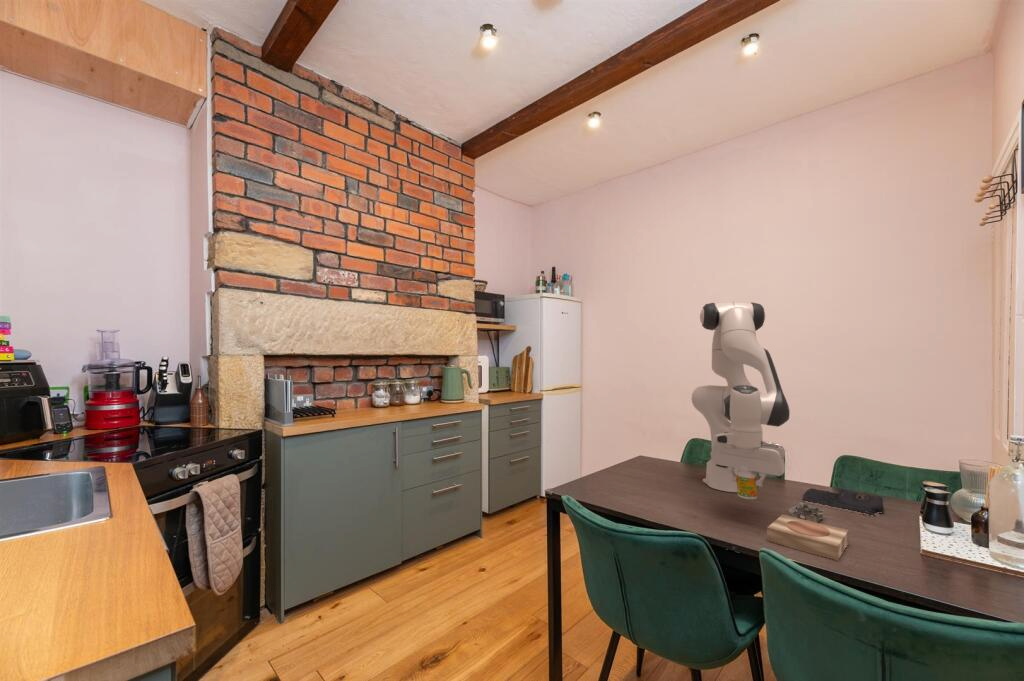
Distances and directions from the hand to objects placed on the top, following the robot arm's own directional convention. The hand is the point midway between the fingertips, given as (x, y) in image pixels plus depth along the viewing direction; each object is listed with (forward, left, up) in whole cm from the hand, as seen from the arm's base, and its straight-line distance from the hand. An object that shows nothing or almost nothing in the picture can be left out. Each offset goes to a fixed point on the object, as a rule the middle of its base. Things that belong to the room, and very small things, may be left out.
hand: (746, 483), depth 134 cm
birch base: (+3, +16, -12) cm, 20 cm away
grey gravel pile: (-17, +12, -12) cm, 24 cm away
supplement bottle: (0, 0, -4) cm, 4 cm away
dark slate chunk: (-41, +17, -13) cm, 46 cm away
